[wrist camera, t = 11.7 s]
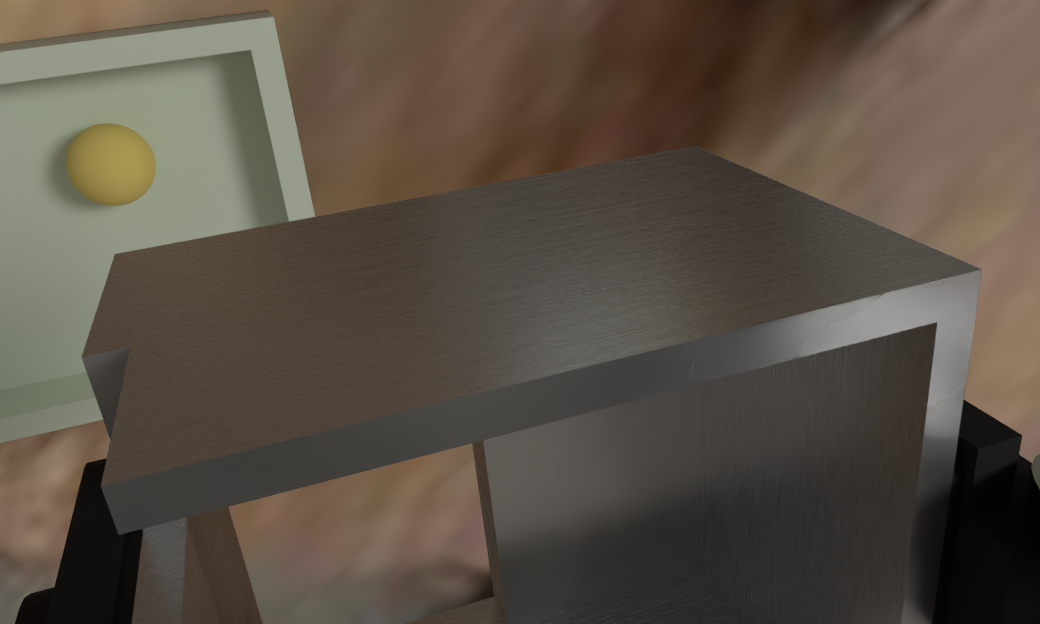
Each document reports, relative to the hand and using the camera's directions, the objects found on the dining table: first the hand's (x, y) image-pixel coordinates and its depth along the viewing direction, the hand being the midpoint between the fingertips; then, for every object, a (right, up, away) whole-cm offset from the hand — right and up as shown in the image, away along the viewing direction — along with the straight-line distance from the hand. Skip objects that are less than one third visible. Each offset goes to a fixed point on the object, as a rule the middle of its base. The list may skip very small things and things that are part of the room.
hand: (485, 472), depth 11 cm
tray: (-16, +6, +24) cm, 29 cm away
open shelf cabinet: (0, 0, +1) cm, 1 cm away
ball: (-14, +6, +20) cm, 26 cm away
